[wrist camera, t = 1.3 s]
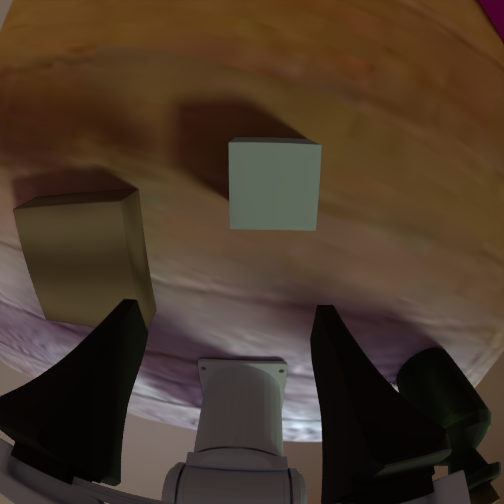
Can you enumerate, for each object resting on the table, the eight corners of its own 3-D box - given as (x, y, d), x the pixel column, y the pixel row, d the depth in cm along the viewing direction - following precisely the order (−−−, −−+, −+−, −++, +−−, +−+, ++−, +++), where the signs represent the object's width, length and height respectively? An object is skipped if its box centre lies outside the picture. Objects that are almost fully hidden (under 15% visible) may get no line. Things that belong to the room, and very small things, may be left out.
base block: (156, 310, 24) (145, 333, 21) (61, 301, 24) (46, 319, 21) (138, 189, 19) (120, 201, 17) (35, 197, 20) (13, 209, 17)
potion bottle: (377, 395, 28) (415, 540, 12) (407, 340, 25) (478, 509, 8) (433, 389, 28) (481, 512, 12) (465, 338, 25) (539, 470, 9)
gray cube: (304, 206, 20) (315, 230, 16) (236, 204, 20) (229, 229, 16) (307, 138, 18) (321, 144, 14) (236, 137, 18) (228, 142, 14)
